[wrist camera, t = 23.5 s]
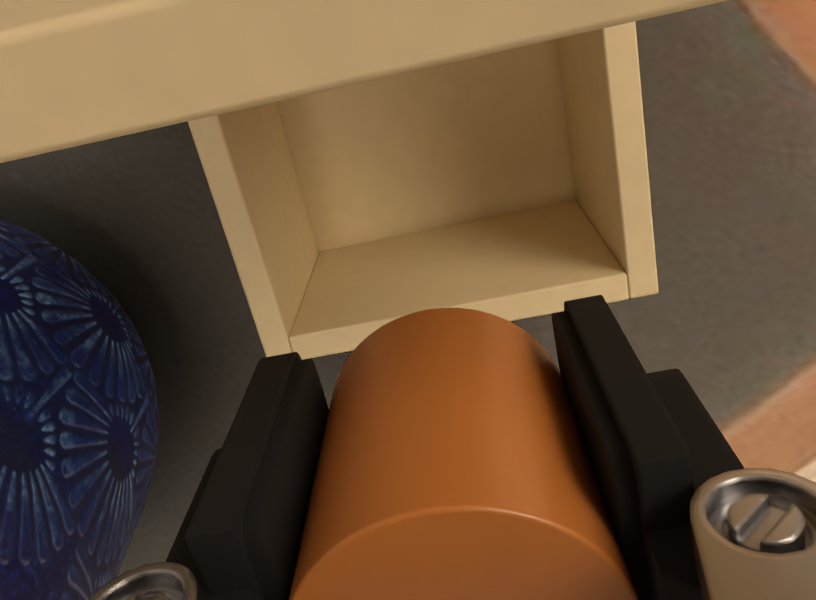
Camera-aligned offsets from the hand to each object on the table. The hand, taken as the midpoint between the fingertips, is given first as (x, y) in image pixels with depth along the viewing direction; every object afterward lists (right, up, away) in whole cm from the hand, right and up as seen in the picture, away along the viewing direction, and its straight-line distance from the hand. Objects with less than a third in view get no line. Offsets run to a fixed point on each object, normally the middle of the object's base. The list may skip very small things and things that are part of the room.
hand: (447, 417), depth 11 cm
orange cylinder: (0, 0, 0) cm, 0 cm away
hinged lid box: (0, +10, +14) cm, 17 cm away
